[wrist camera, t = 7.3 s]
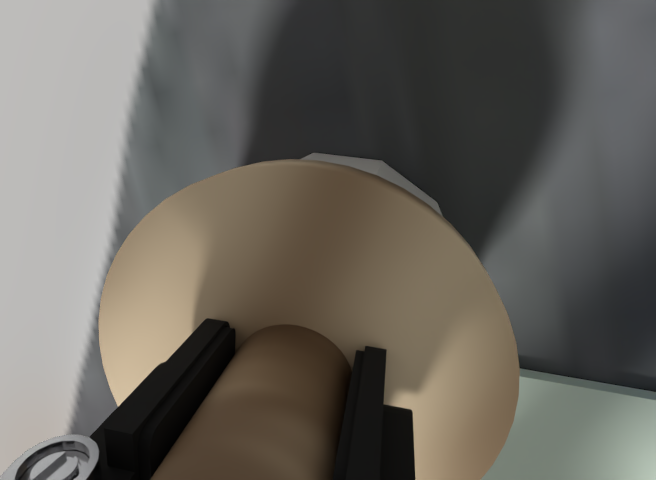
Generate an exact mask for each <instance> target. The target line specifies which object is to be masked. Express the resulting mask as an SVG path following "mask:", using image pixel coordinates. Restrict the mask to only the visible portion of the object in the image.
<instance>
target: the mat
mask: <svg viewBox="0 0 656 480" xmlns="http://www.w3.org/2000/svg"><path fill="white" fill-rule="evenodd" d="M481 480H656V392H653V391H647V390H641V389H636V388H630V387H624V386H618V385H613V384H607V383H601V382H595V381H590V380H584V379H578V378H572V377H566V376H561V375H555V374H549V373H543V372H538V371H532V370H526V369H520V376H519V397H518V402H517V407H516V412H515V417H514V422H513V424H512V427H511V429H510V432H509V435H508V437H507V440H506V442H505V445H504V446H503V448H502V450H501V452H500V453H499V455H498V457H497V458H496V460H495V462H494V464H493V465H492V466H491V468H490V469H489V470H488V471H487V472H486V474H485V475H484V476H483V477H482V479H481Z"/></svg>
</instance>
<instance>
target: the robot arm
mask: <svg viewBox="0 0 656 480" xmlns="http://www.w3.org/2000/svg"><path fill="white" fill-rule="evenodd" d="M386 353H387V349H382V348H376V347H370V346H365V351H359V350H356V354H355V359H354V364H353V370H352V375H351V381H350V386H349V392H348V397H347V402H346V408H345V413H344V419H343V424H342V429H341V435H340V440H339V446H338V451H337V456H336V462H335V468H334V474H333V480H415V456H414V432H413V412H412V410H411V409H406V408H401V407H396V406H391V405H385V404H384V388H385V371H386ZM234 355H235V329H234V328H230V325H229V323H228V322H227V321H221V320H216V319H210V318H207V319H205V320H204V321H203V322H202V323H201V324H200V325H199V326H198V327H197V329H196V330H195V331H194V332H193V333H192V334H191V335H190V336H189V337H188V338H187V339H186V340H185V341H184V343H183V344H182V345H181V346H180V347H179V348H178V349H177V350H176V351H175V352H174V353H173V354H172V355H171V356H170V358H169V359H168V360H167V361H166V362H163V363H160V364H159V365H158V366H157V367H156V368H155V369H154V370H153V371H152V372H151V373H150V374H149V375H148V376H147V377H146V378H145V379H144V380H143V381H142V382H141V383H140V384H139V385H138V386H137V388H136V389H135V390H134V391H133V392H132V393H131V394H130V395H129V396H128V397H127V398H126V399H125V400H124V401H123V402H122V403H121V404H120V405H119V406H118V408H117V409H116V410H115V411H114V412H113V413H112V414H111V415H110V416H109V417H108V418H107V419H106V420H105V421H104V422H103V423H102V424H101V425H100V426H99V428H98V429H97V430H96V431H95V432H94V433H93V434H92V435H91V436H90V437H86V436H82V435H63V436H59V437H54V438H51V439H48V440H46V441H43V442H41V443H39V444H37V445H35V446H34V447H32V448H30V449H29V450H27V451H26V452H24V454H22V455H21V456H20V457H19V458H17V459H16V460H15V461H14V462H13V463H12V464H11V465H10V467H8V469H7V470H6V471H5V472H4V473H3V474H2V475H1V476H0V480H150V479H151V477H152V476H153V474H154V473H155V471H156V470H157V469H158V467H159V466H160V464H161V463H162V461H163V460H164V458H165V457H166V455H167V454H168V452H169V451H170V449H171V448H172V446H173V445H174V443H175V442H176V440H177V439H178V438H179V436H180V435H181V433H182V432H183V430H184V429H185V427H186V426H187V424H188V423H189V421H190V420H191V418H192V417H193V415H194V414H195V412H196V411H197V409H198V408H199V407H200V405H201V404H202V402H203V401H204V399H205V398H206V396H207V395H208V393H209V392H210V390H211V389H212V387H213V386H214V384H215V383H216V381H217V380H218V378H219V377H220V376H221V374H222V373H223V371H224V370H225V368H226V367H227V365H228V364H229V362H230V361H231V359H232V358H233V356H234Z"/></svg>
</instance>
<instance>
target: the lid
mask: <svg viewBox="0 0 656 480" xmlns="http://www.w3.org/2000/svg"><path fill="white" fill-rule="evenodd" d="M207 318H210V319H216V320H221V321H227V322H228V323H229V325H230V328H234V329H235V355H234V356H233V358H232V359H231V361H230V362H229V364H228V365H227V367H226V368H225V370H224V371H223V373H222V374H221V376H220V377H219V378H218V380H217V381H216V383H215V384H214V386H213V387H212V389H211V390H210V392H209V393H208V395H207V396H206V398H205V399H204V401H203V402H202V404H201V405H200V407H199V408H198V409H197V411H196V412H195V414H194V415H193V417H192V418H191V420H190V421H189V423H188V424H187V426H186V427H185V429H184V430H183V432H182V433H181V435H180V436H179V438H178V439H177V440H176V442H175V443H174V445H173V446H172V448H171V449H170V451H169V452H168V454H167V455H166V457H165V458H164V460H163V461H162V463H161V464H160V466H159V467H158V469H157V470H156V471H155V473H154V474H153V476H152V477H151V479H150V480H333V474H334V468H335V462H336V456H337V451H338V446H339V440H340V435H341V429H342V424H343V419H344V413H345V408H346V402H347V397H348V392H349V386H350V381H351V375H352V370H353V364H354V359H355V354H356V350H359V351H365V346H370V347H376V348H382V349H387V353H386V371H385V388H384V404H385V405H391V406H396V407H401V408H406V409H411V410H412V412H413V432H414V456H415V480H481V479H482V477H483V476H484V475H485V474H486V472H487V471H488V470H489V469H490V468H491V466H492V465H493V464H494V462H495V460H496V458H497V457H498V455H499V453H500V452H501V450H502V448H503V446H504V445H505V442H506V440H507V437H508V435H509V432H510V429H511V427H512V424H513V422H514V417H515V412H516V407H517V402H518V397H519V376H520V368H519V360H518V352H517V345H516V340H515V337H514V333H513V330H512V326H511V323H510V320H509V316H508V314H507V311H506V309H505V307H504V305H503V303H502V301H501V299H500V296H499V294H498V292H497V290H496V288H495V286H494V284H493V282H492V280H491V279H490V277H489V275H488V273H487V271H486V269H485V268H484V266H483V265H482V263H481V262H480V260H479V258H478V257H477V255H476V254H475V252H474V251H473V249H472V248H471V246H470V245H469V244H468V243H467V241H466V240H465V239H464V238H463V237H462V236H461V235H460V233H459V232H458V231H457V230H456V229H455V228H454V227H453V226H452V224H451V223H450V222H448V221H447V220H446V219H445V218H444V217H443V216H441V215H440V214H439V213H438V212H437V211H436V210H434V209H433V208H432V207H431V206H430V205H429V204H427V203H426V202H424V201H423V200H421V199H420V198H418V197H417V196H415V195H414V194H412V193H410V192H409V191H407V190H406V189H404V188H403V187H401V186H398V185H396V184H394V183H392V182H390V181H388V180H386V179H384V178H382V177H380V176H377V175H375V174H372V173H369V172H366V171H363V170H360V169H356V168H353V167H350V166H347V165H341V164H336V163H330V162H325V161H319V160H300V159H285V160H274V161H263V162H258V163H254V164H250V165H246V166H241V167H237V168H234V169H231V170H228V171H225V172H222V173H220V174H217V175H214V176H212V177H209V178H207V179H204V180H201V181H199V182H196V183H194V184H191V185H189V186H187V187H186V188H184V189H182V190H180V191H179V192H177V193H175V194H174V195H172V196H170V197H168V198H167V199H165V200H164V201H163V202H162V203H160V204H159V205H158V206H157V207H156V208H154V209H153V210H152V211H151V212H149V213H148V214H147V215H146V216H145V217H144V218H143V219H142V220H141V221H140V223H139V224H138V225H137V226H136V227H135V228H134V229H133V230H132V231H131V233H130V234H129V235H128V237H127V238H126V240H125V241H124V243H123V245H122V246H121V248H120V249H119V251H118V252H117V254H116V256H115V258H114V261H113V263H112V265H111V268H110V270H109V272H108V275H107V277H106V281H105V285H104V289H103V293H102V297H101V304H100V313H99V344H100V350H101V356H102V362H103V367H104V370H105V373H106V377H107V380H108V383H109V387H110V389H111V391H112V394H113V396H114V398H115V401H116V403H117V405H118V406H119V405H120V404H121V403H122V402H123V401H124V400H125V399H126V398H127V397H128V396H129V395H130V394H131V393H132V392H133V391H134V390H135V389H136V388H137V386H138V385H139V384H140V383H141V382H142V381H143V380H144V379H145V378H146V377H147V376H148V375H149V374H150V373H151V372H152V371H153V370H154V369H155V368H156V367H157V366H158V365H159V364H160V363H163V362H166V361H167V360H168V359H169V358H170V356H171V355H172V354H173V353H174V352H175V351H176V350H177V349H178V348H179V347H180V346H181V345H182V344H183V343H184V341H185V340H186V339H187V338H188V337H189V336H190V335H191V334H192V333H193V332H194V331H195V330H196V329H197V327H198V326H199V325H200V324H201V323H202V322H203V321H204V320H205V319H207Z"/></svg>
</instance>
